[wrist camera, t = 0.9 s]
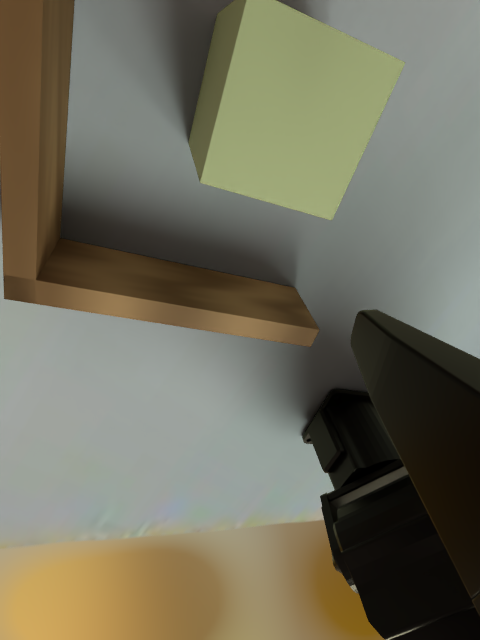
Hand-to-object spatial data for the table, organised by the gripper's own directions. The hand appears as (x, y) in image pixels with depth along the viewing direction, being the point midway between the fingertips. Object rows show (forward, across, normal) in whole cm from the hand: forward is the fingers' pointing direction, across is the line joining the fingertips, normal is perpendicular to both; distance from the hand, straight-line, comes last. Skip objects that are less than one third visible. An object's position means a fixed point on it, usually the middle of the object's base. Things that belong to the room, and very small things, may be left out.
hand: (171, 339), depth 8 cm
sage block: (+13, -4, -4) cm, 14 cm away
